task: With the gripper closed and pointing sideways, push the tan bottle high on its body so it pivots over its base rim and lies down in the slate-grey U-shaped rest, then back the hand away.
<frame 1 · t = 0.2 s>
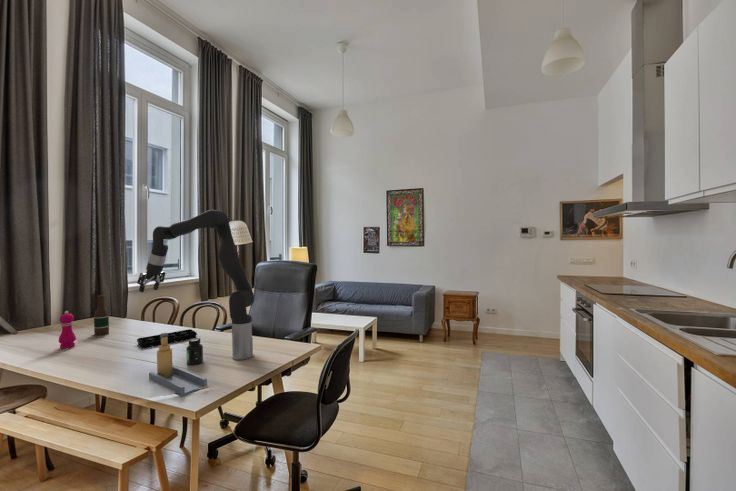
hand: (148, 290, 189), 31 cm above the table, tool tilted 20°, fingers open, 8 cm apart
beer bottle: (101, 334, 221), on the table
pepper mill: (67, 347, 194), on the table
bottle: (165, 376, 149), point 1 cm above the table, touching cradle
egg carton: (168, 342, 204), on the table
cradle: (177, 384, 143), on the table
supplement bottle: (195, 365, 165), on the table
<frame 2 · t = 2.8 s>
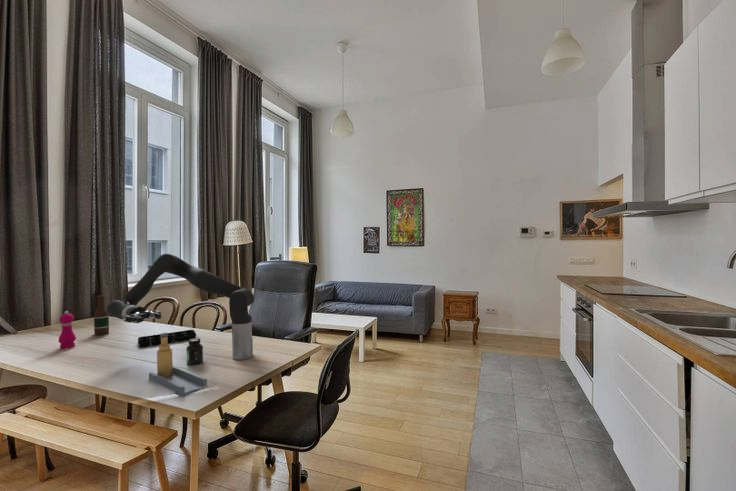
hand: (150, 318, 155), 24 cm above the table, tool horizontal, fingers open, 7 cm apart
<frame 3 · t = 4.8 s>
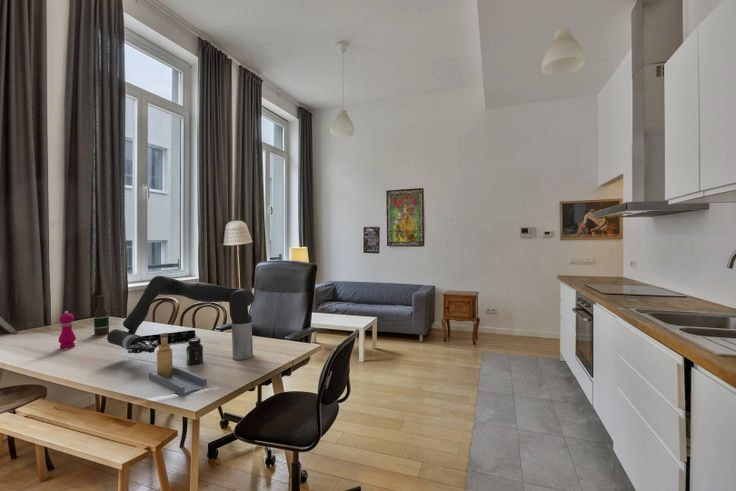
hand: (152, 350, 155), 10 cm above the table, tool horizontal, fingers closed
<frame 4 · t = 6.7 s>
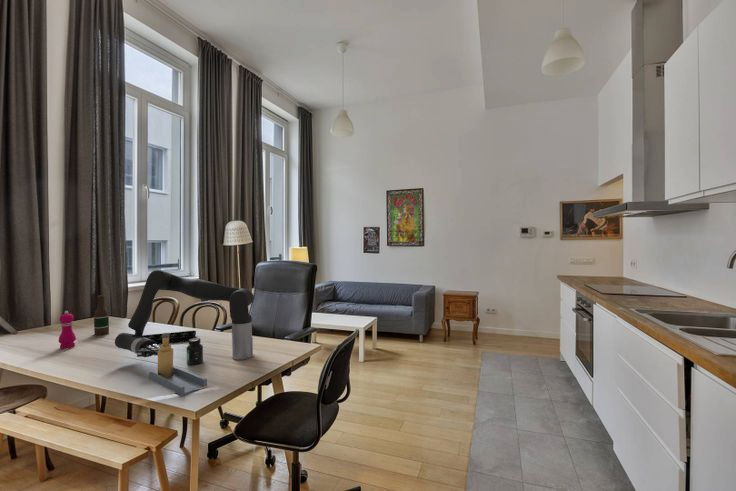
hand: (162, 353, 150), 10 cm above the table, tool horizontal, fingers closed
bottle: (165, 375, 149), point 1 cm above the table, touching cradle, gripper
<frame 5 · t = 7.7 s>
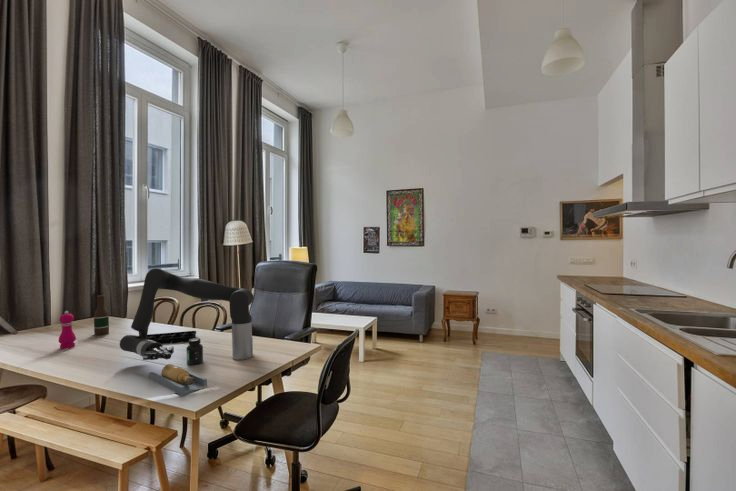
hand: (168, 356, 146), 10 cm above the table, tool horizontal, fingers closed
bottle: (168, 371, 147), point 4 cm above the table, tilted 90°, touching cradle
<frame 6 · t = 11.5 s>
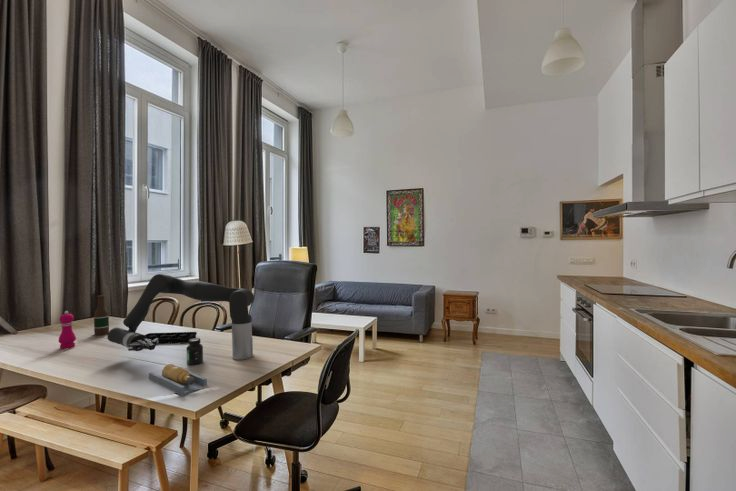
hand: (152, 347, 155), 11 cm above the table, tool horizontal, fingers closed
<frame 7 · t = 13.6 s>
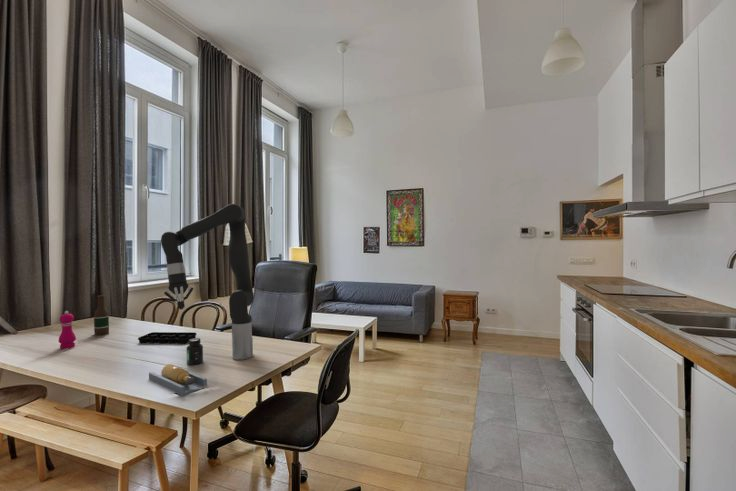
hand: (181, 309, 169), 25 cm above the table, tool pointing down, fingers closed
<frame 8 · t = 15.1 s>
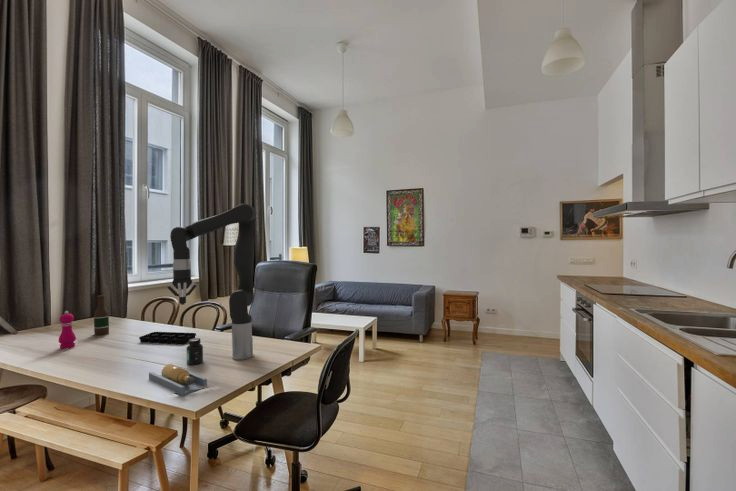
hand: (182, 304, 171), 27 cm above the table, tool pointing down, fingers closed
at the end: bottle tilted 90°; bottle inside the target area on the cradle (0.4 cm from its centre), point 3.8 cm above the cradle's base; bottle touching cradle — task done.
